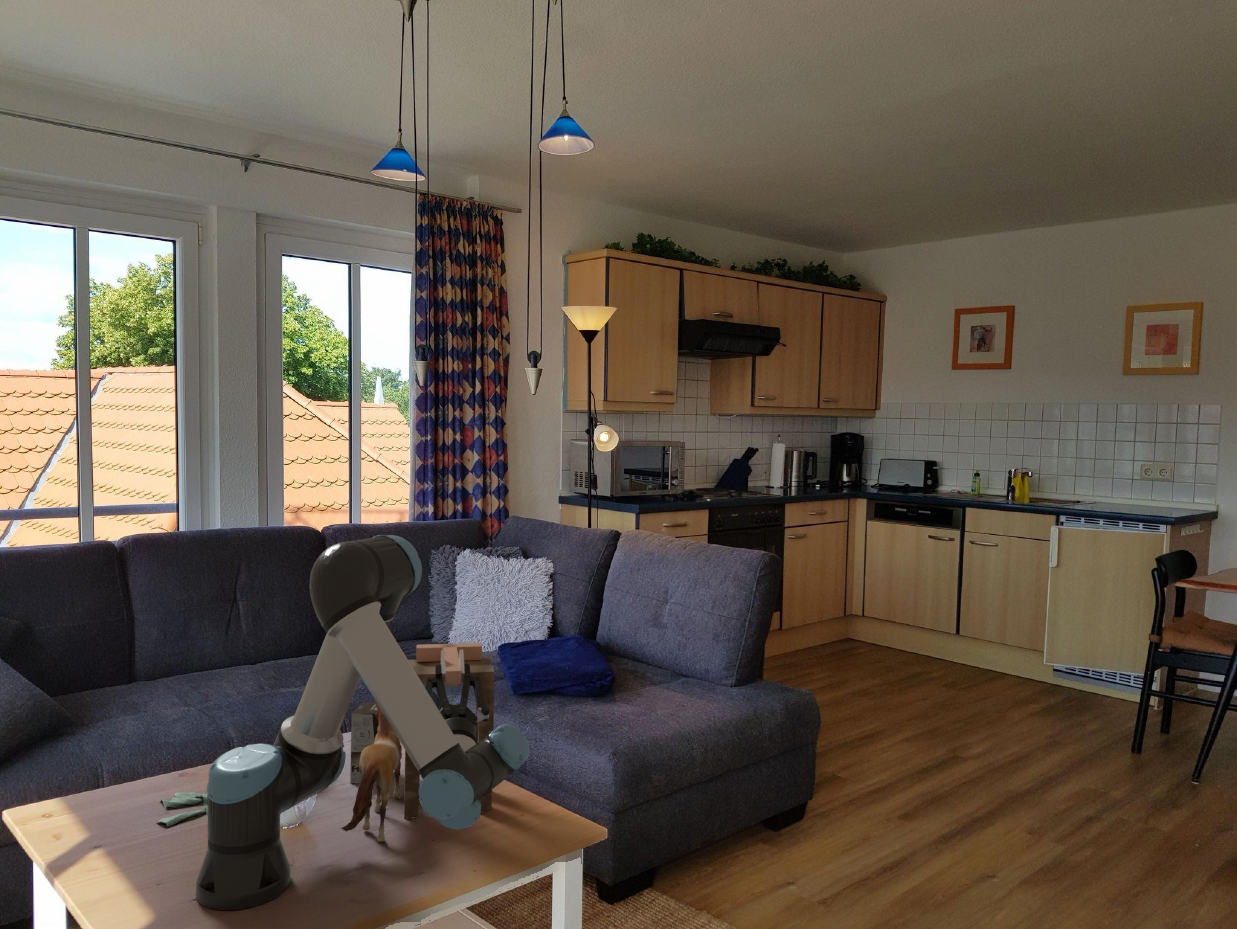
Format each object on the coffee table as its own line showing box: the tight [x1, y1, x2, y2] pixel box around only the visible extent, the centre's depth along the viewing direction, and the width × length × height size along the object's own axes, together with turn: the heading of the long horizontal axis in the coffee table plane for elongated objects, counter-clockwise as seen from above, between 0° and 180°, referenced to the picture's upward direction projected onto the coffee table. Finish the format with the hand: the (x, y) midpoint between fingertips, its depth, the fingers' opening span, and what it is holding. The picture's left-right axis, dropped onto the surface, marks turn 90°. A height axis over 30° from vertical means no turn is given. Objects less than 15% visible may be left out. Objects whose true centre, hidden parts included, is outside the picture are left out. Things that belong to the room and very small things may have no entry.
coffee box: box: [349, 701, 378, 785], centre depth 204 cm, size 9×6×16 cm
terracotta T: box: [415, 642, 483, 687], centre depth 185 cm, size 14×22×3 cm, turn 13°
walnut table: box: [403, 656, 495, 819], centre depth 190 cm, size 18×12×30 cm, turn 103°
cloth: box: [156, 791, 208, 828], centre depth 185 cm, size 20×22×2 cm
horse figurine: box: [340, 703, 403, 843], centre depth 181 cm, size 31×8×21 cm, turn 3°
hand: (452, 654), depth 182 cm, fingers closed on terracotta T, 3 cm apart
